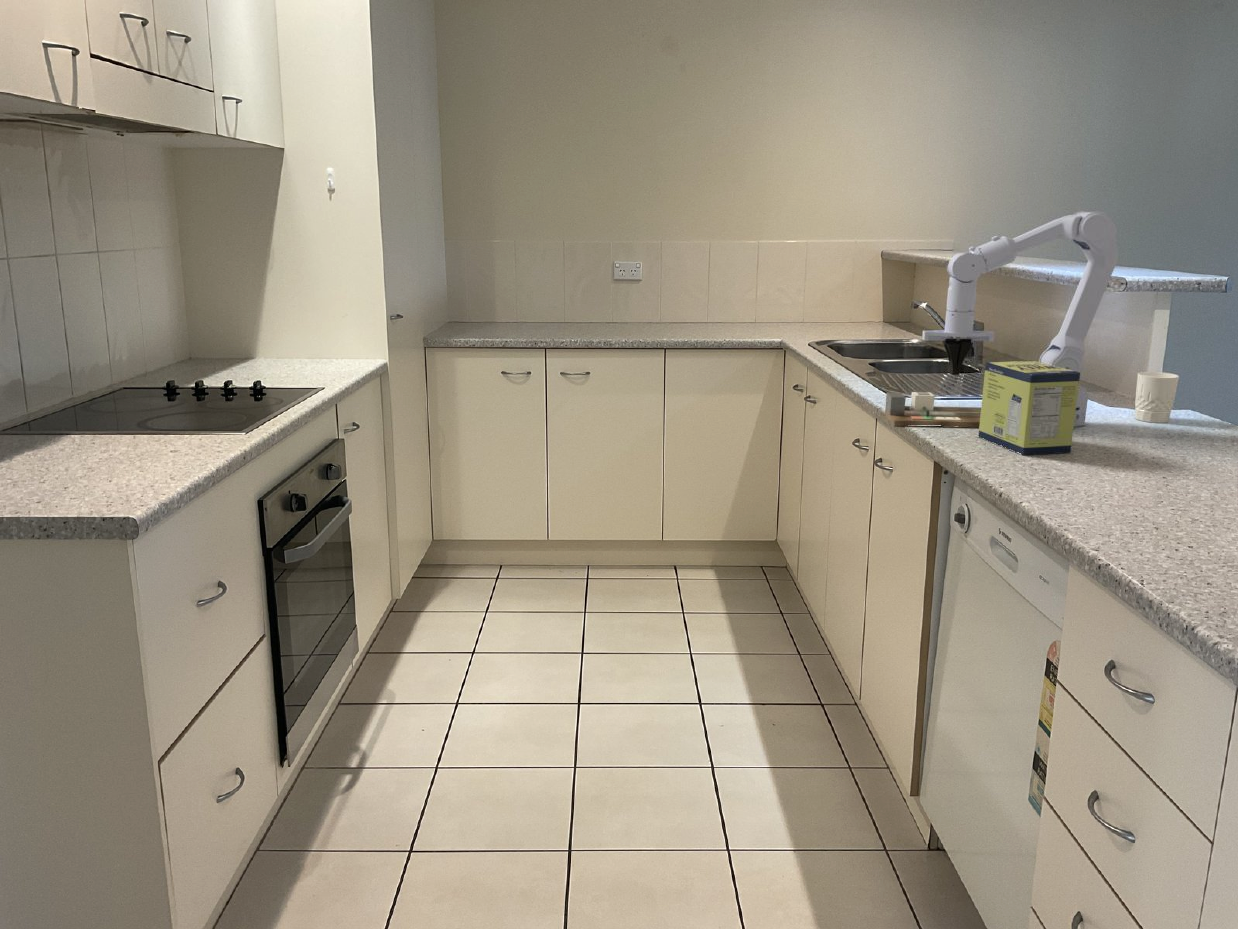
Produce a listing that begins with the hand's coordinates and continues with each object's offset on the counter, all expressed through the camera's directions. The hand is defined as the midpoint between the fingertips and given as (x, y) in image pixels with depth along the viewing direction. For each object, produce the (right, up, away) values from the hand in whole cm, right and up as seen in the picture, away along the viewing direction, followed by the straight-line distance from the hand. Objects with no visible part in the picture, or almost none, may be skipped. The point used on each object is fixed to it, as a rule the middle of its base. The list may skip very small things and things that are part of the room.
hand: (954, 374), depth 209 cm
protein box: (+7, -16, -20) cm, 26 cm away
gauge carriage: (-6, -8, +1) cm, 11 cm away
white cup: (+44, -10, +3) cm, 45 cm away
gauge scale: (-5, -10, -3) cm, 11 cm away
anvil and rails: (-3, -8, +2) cm, 9 cm away
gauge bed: (-3, -10, 0) cm, 11 cm away
